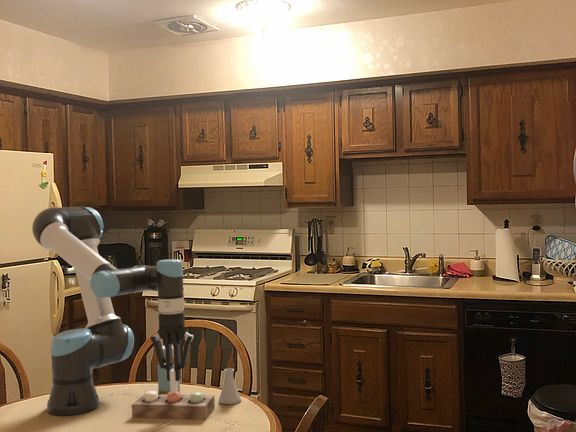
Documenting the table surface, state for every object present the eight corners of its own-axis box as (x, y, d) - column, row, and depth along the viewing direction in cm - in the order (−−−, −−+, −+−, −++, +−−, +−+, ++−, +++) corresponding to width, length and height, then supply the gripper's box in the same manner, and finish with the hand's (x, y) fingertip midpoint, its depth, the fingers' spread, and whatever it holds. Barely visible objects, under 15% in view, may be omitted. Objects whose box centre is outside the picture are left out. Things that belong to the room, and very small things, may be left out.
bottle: (177, 395, 201) (176, 349, 200) (156, 395, 201) (154, 349, 200) (181, 388, 208) (180, 344, 207) (161, 389, 208) (159, 344, 207)
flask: (237, 405, 188) (237, 373, 188) (215, 404, 190) (214, 372, 190) (244, 398, 196) (243, 367, 195) (222, 397, 197) (221, 366, 197)
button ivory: (142, 406, 182) (142, 394, 182) (147, 402, 186) (147, 390, 186) (155, 406, 182) (154, 394, 182) (159, 402, 186) (159, 391, 185)
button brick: (165, 407, 181) (165, 395, 181) (169, 402, 185) (169, 391, 185) (178, 407, 181) (177, 395, 181) (182, 403, 184) (181, 391, 184)
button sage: (188, 407, 180) (188, 395, 180) (192, 403, 184) (192, 391, 184) (201, 407, 180) (200, 395, 180) (204, 403, 183) (204, 392, 183)
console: (132, 417, 180) (131, 404, 180) (145, 406, 189) (144, 393, 189) (205, 420, 176) (205, 406, 176) (214, 408, 186) (214, 395, 186)
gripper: (145, 314, 180) (148, 395, 180) (188, 314, 178) (191, 395, 178) (154, 310, 187) (157, 387, 187) (196, 309, 185) (199, 388, 185)
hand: (174, 391), depth 183 cm, fingers closed
